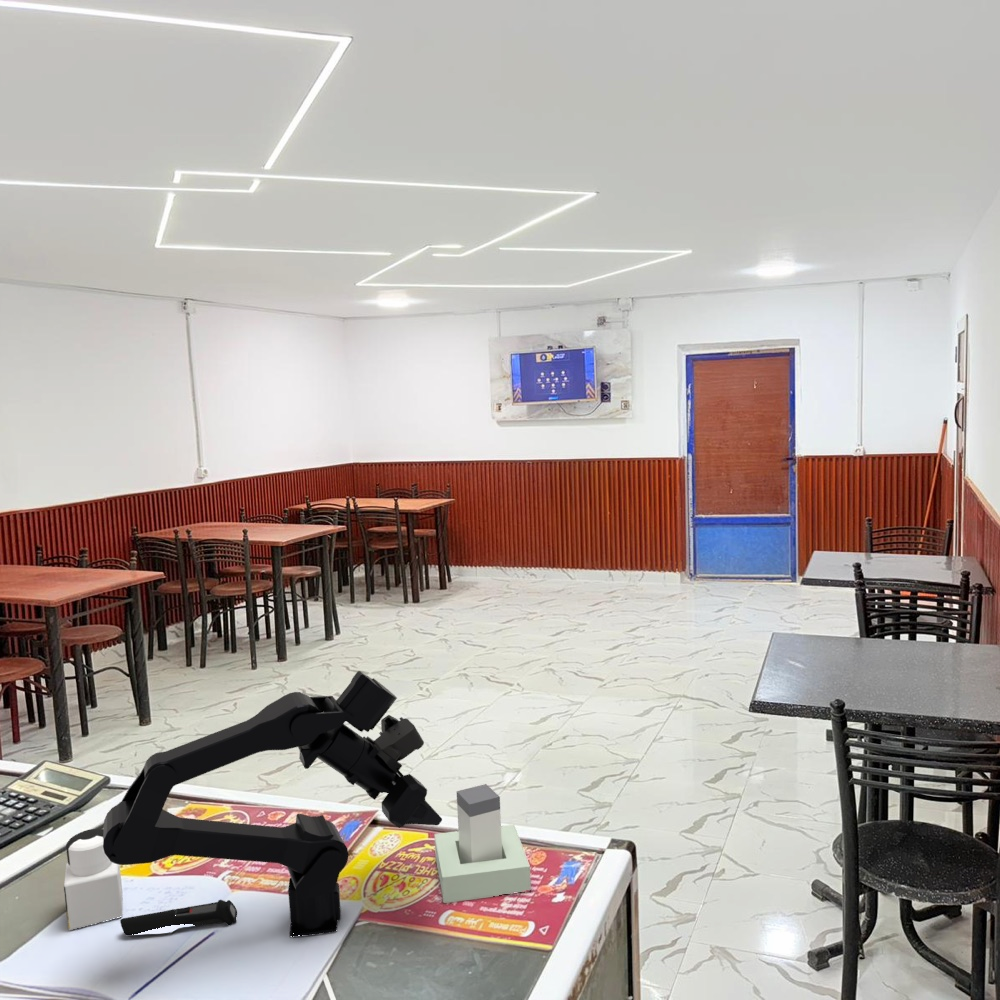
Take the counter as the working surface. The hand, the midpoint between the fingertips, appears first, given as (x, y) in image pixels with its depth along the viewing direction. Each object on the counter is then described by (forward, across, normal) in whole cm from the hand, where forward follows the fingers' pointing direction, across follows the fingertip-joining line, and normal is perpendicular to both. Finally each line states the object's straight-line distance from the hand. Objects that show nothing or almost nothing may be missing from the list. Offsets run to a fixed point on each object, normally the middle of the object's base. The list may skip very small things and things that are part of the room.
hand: (428, 808), depth 131 cm
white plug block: (+14, 0, +3) cm, 14 cm away
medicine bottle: (-24, +19, +41) cm, 51 cm away
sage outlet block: (+14, 0, +3) cm, 15 cm away
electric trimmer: (-16, +8, +34) cm, 38 cm away
